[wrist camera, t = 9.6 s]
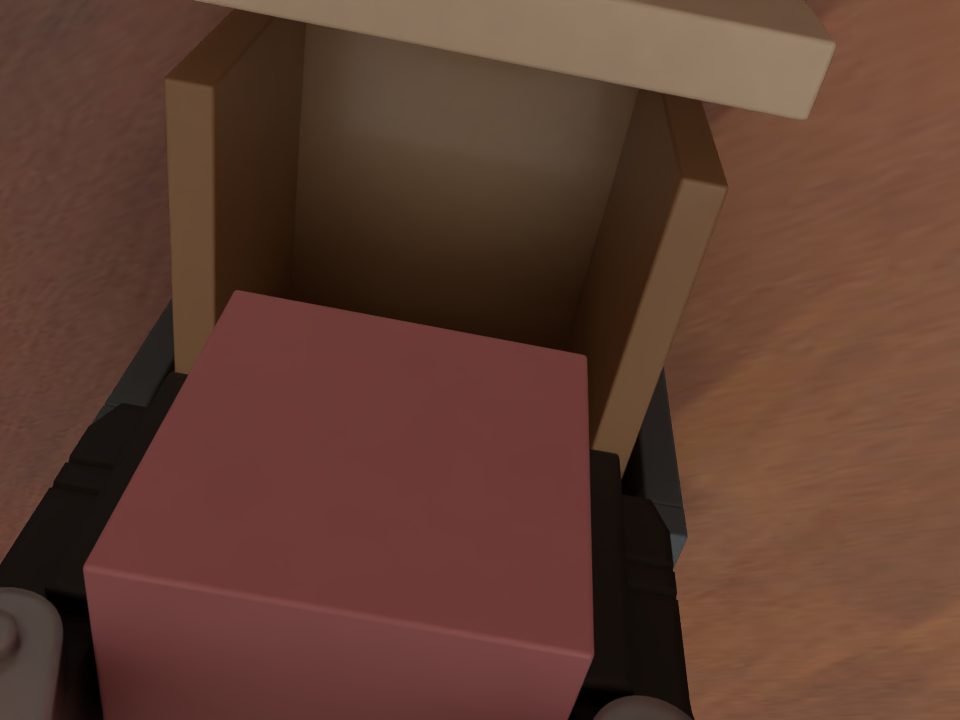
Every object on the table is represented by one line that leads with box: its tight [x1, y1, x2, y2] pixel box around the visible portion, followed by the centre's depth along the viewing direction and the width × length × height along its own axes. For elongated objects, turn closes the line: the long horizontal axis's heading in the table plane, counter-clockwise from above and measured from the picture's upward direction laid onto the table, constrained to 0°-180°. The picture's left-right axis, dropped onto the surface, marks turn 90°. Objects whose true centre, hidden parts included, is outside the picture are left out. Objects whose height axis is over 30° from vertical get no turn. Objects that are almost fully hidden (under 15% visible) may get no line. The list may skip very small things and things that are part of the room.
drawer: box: [164, 0, 836, 479], centre depth 19 cm, size 18×10×8 cm, turn 170°
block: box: [83, 290, 594, 720], centre depth 11 cm, size 4×4×4 cm
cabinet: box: [92, 299, 688, 568], centre depth 26 cm, size 15×12×10 cm
